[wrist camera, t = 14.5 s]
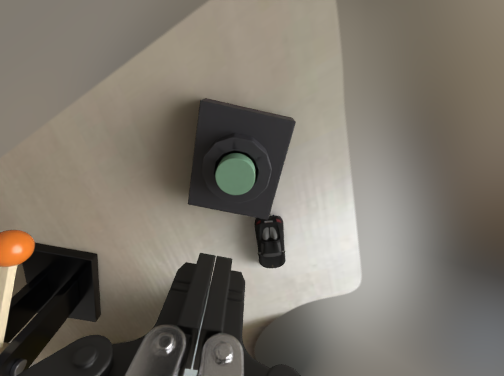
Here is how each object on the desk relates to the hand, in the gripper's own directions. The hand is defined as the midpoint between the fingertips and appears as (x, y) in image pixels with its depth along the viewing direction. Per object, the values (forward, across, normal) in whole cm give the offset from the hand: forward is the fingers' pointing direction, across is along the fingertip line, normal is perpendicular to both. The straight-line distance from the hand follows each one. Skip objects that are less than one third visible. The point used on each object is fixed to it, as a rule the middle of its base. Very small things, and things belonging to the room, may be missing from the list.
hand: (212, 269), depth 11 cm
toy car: (+17, -6, +10) cm, 21 cm away
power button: (+13, 0, 0) cm, 13 cm away
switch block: (+17, 0, 0) cm, 17 cm away
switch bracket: (+17, +20, +23) cm, 35 cm away
